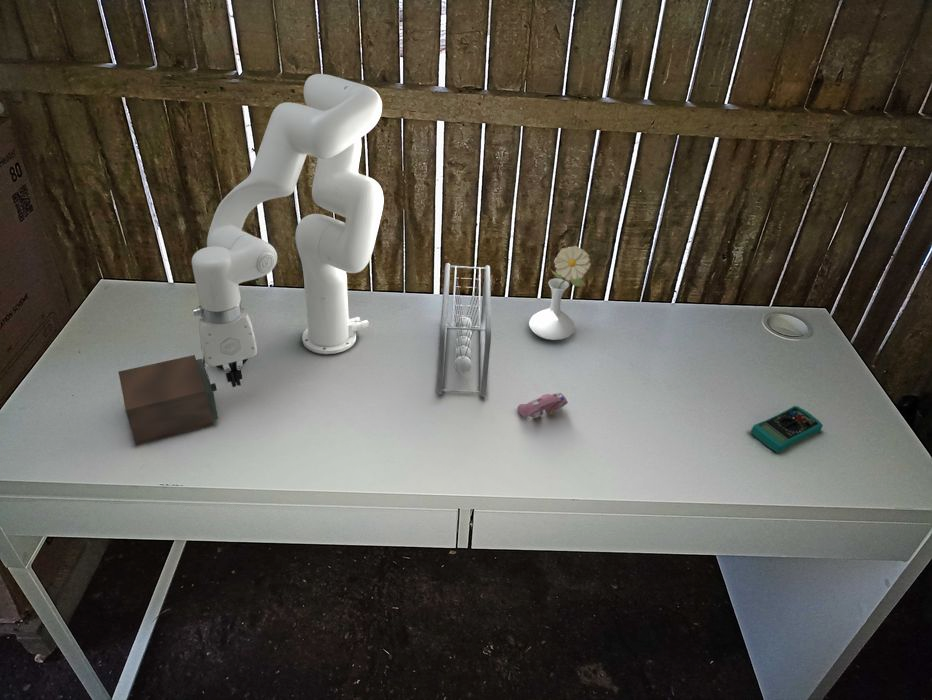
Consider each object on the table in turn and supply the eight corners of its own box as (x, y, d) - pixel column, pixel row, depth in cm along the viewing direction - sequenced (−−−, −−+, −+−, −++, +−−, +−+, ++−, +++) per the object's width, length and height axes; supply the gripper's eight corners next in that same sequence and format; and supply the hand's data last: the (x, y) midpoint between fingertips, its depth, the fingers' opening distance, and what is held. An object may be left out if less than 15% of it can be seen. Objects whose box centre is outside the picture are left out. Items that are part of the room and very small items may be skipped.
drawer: (213, 384, 154) (207, 357, 150) (224, 417, 146) (219, 389, 141) (139, 401, 148) (132, 373, 144) (147, 436, 140) (139, 408, 136)
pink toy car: (523, 427, 152) (534, 414, 146) (514, 408, 154) (524, 394, 148) (561, 414, 156) (574, 401, 150) (552, 396, 158) (564, 382, 152)
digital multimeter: (821, 432, 154) (826, 422, 152) (776, 455, 147) (781, 445, 146) (793, 412, 159) (797, 402, 157) (748, 434, 152) (752, 423, 150)
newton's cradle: (442, 321, 180) (445, 259, 169) (484, 323, 180) (490, 261, 170) (436, 398, 156) (439, 331, 145) (485, 401, 156) (491, 334, 145)
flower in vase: (519, 330, 178) (530, 241, 164) (545, 313, 186) (558, 225, 171) (562, 353, 172) (578, 261, 157) (588, 333, 179) (605, 244, 164)
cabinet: (201, 388, 154) (194, 354, 148) (213, 425, 145) (206, 390, 140) (128, 406, 148) (118, 371, 143) (136, 445, 139) (125, 409, 134)
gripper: (184, 327, 133) (201, 402, 144) (265, 311, 139) (275, 384, 150) (178, 307, 138) (195, 380, 149) (256, 291, 144) (266, 363, 155)
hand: (235, 382), depth 149 cm, fingers closed
